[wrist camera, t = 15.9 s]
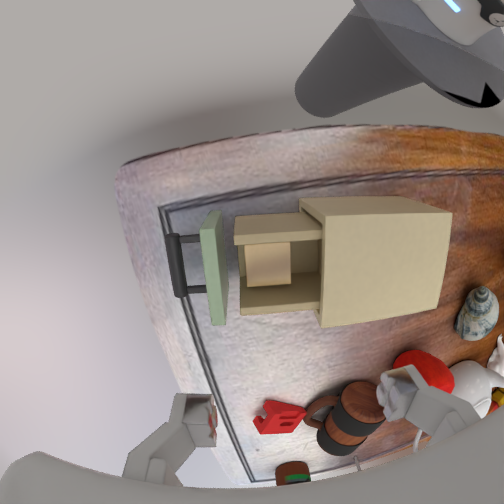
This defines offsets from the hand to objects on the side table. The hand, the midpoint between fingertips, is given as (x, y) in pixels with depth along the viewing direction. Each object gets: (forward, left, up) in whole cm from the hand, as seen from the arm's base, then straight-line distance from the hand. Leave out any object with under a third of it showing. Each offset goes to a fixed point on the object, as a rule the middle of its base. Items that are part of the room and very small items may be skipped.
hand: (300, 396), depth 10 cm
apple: (+21, +22, -21) cm, 37 cm away
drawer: (0, -1, -20) cm, 20 cm away
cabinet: (0, +10, -21) cm, 23 cm away
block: (0, 0, -19) cm, 19 cm away
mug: (+22, +13, -17) cm, 31 cm away
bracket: (+28, +2, -18) cm, 33 cm away
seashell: (+13, +34, -21) cm, 42 cm away
